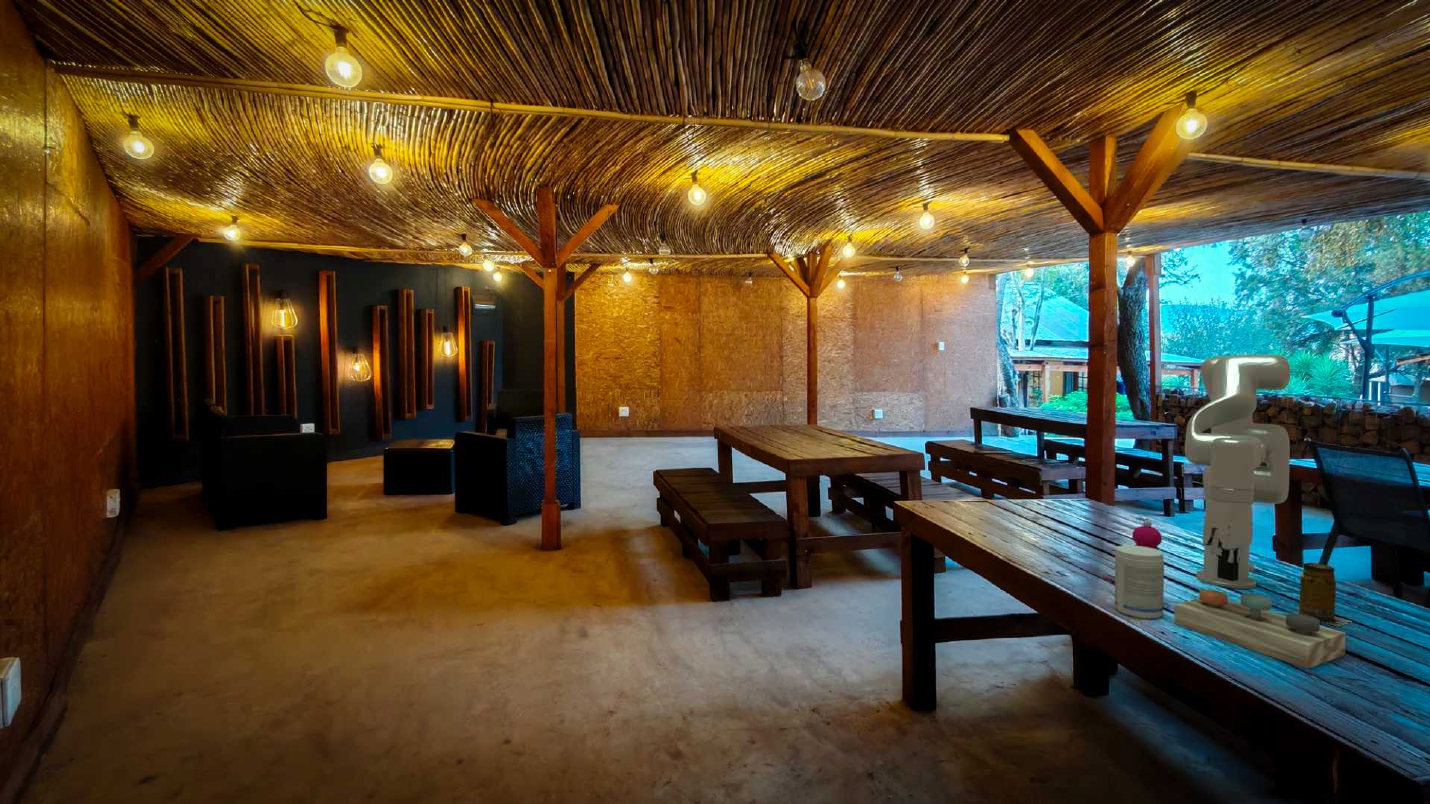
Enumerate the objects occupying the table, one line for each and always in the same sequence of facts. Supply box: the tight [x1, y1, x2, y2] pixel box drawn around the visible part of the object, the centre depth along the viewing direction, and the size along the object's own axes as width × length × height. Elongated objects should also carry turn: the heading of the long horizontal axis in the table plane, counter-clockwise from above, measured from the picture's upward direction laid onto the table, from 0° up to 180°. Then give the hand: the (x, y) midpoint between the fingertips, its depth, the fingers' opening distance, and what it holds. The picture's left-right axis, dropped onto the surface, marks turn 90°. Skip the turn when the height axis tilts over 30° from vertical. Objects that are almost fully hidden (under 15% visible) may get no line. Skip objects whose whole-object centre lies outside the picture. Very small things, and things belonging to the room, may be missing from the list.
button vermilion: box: [1198, 588, 1229, 609], centre depth 145 cm, size 5×5×5 cm
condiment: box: [1294, 562, 1353, 627], centre depth 149 cm, size 7×8×12 cm
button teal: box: [1240, 593, 1273, 621], centre depth 138 cm, size 5×5×5 cm
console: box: [1173, 597, 1347, 670], centre depth 138 cm, size 14×24×4 cm, turn 25°
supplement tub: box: [1114, 545, 1165, 619], centre depth 153 cm, size 10×10×15 cm
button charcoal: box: [1285, 612, 1321, 636], centre depth 131 cm, size 5×5×5 cm
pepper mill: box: [1131, 519, 1163, 551], centre depth 160 cm, size 7×7×20 cm
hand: (1227, 578), depth 142 cm, fingers closed
